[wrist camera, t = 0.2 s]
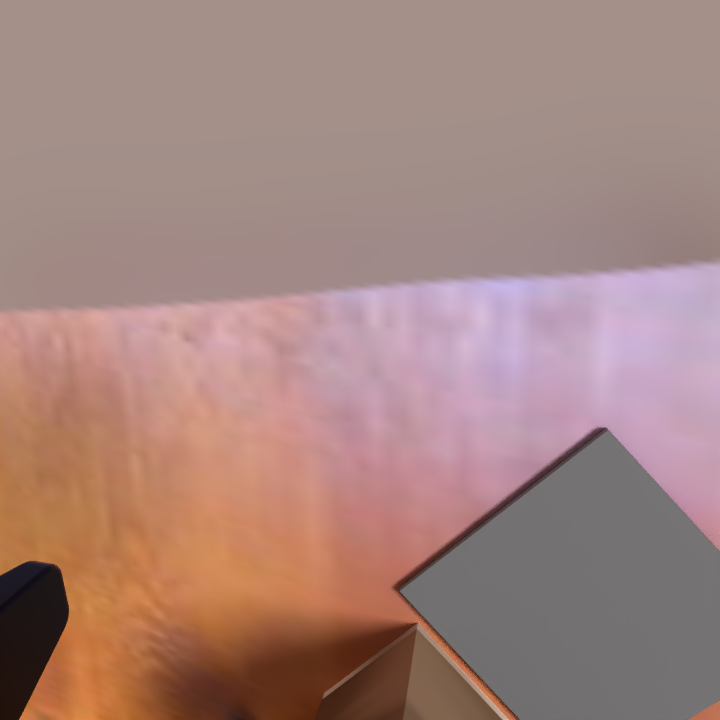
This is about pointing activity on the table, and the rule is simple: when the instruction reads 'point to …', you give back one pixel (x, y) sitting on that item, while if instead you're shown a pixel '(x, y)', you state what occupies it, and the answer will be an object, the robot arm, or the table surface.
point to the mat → (584, 596)
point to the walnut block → (408, 686)
